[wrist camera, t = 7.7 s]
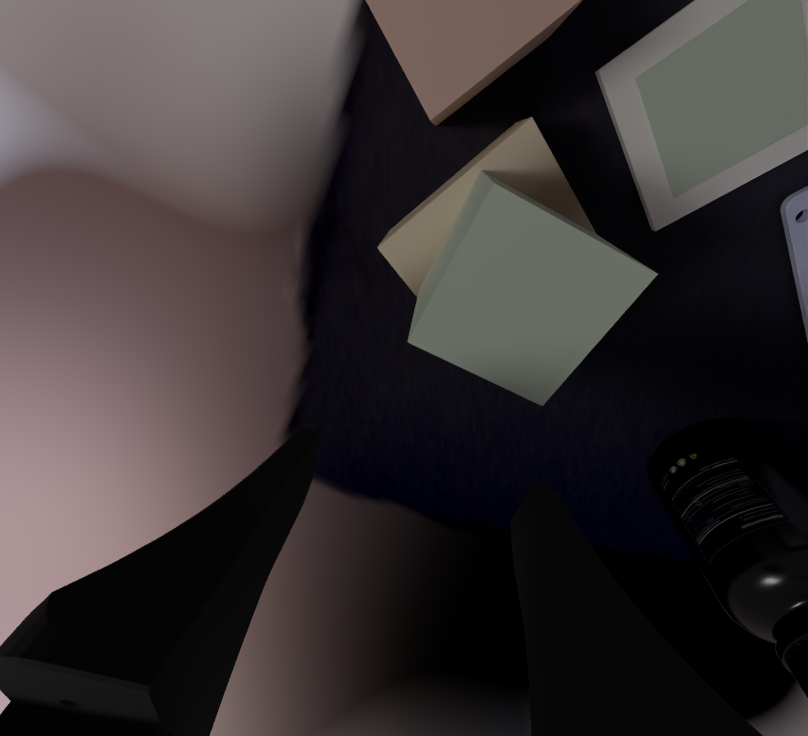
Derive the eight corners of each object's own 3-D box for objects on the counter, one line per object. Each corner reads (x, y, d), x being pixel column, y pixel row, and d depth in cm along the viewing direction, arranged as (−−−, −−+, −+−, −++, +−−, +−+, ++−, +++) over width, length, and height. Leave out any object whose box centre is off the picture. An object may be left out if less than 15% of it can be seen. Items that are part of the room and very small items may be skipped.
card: (842, 126, 15) (854, 126, 14) (651, 229, 17) (656, 231, 17) (815, -88, 12) (829, -97, 11) (595, 72, 14) (599, 70, 14)
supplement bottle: (795, 447, 22) (1086, 705, 12) (697, 509, 26) (859, 750, 16) (710, 397, 21) (949, 633, 11) (619, 468, 25) (738, 699, 14)
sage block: (596, 234, 14) (657, 274, 10) (519, 338, 17) (542, 405, 12) (481, 169, 13) (494, 182, 9) (419, 289, 16) (407, 341, 12)
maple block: (590, 254, 18) (621, 280, 15) (470, 331, 21) (473, 367, 18) (514, 122, 16) (531, 117, 12) (391, 228, 19) (377, 247, 15)
